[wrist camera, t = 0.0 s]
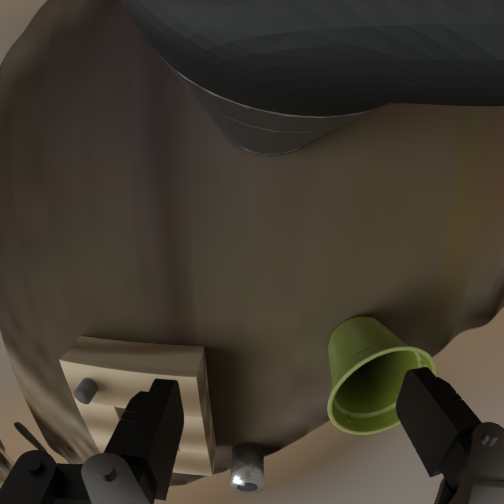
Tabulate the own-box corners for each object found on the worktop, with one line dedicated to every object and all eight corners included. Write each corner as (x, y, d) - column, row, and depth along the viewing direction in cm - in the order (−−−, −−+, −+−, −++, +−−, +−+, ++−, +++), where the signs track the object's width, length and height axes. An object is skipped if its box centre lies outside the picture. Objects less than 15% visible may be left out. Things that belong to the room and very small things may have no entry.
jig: (81, 335, 28) (49, 370, 21) (204, 346, 28) (192, 392, 21) (115, 433, 32) (99, 469, 25) (215, 446, 32) (211, 488, 25)
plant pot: (341, 391, 30) (362, 448, 21) (291, 341, 28) (304, 401, 20) (410, 340, 28) (448, 387, 20) (369, 280, 26) (411, 322, 18)
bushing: (231, 442, 32) (228, 479, 26) (263, 442, 32) (265, 479, 26) (232, 458, 33) (230, 494, 27) (263, 458, 33) (264, 494, 27)
